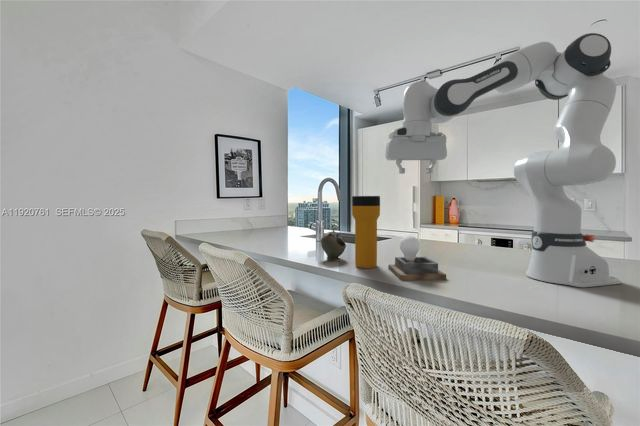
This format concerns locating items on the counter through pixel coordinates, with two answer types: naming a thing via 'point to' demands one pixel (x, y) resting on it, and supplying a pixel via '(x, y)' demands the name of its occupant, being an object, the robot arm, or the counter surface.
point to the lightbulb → (409, 248)
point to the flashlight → (366, 229)
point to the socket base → (416, 269)
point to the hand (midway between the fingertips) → (415, 173)
